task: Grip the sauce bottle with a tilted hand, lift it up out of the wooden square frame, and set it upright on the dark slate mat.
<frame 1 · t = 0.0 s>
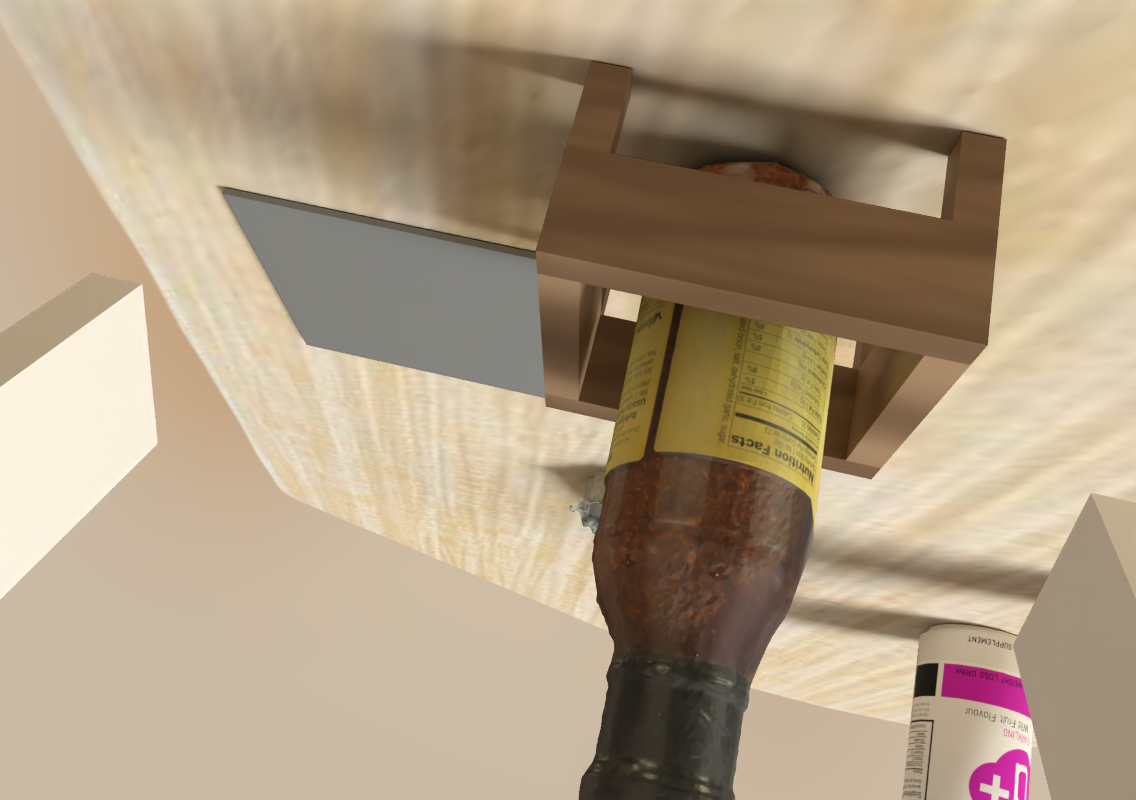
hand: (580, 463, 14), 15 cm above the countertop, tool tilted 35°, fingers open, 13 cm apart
slate mat: (415, 304, 47), on the countertop
sauce bottle: (763, 201, 34), on the countertop
wooden square frame: (762, 207, 34), on the countertop
supplement can: (978, 634, 76), on the countertop
egg carton: (675, 488, 63), on the countertop
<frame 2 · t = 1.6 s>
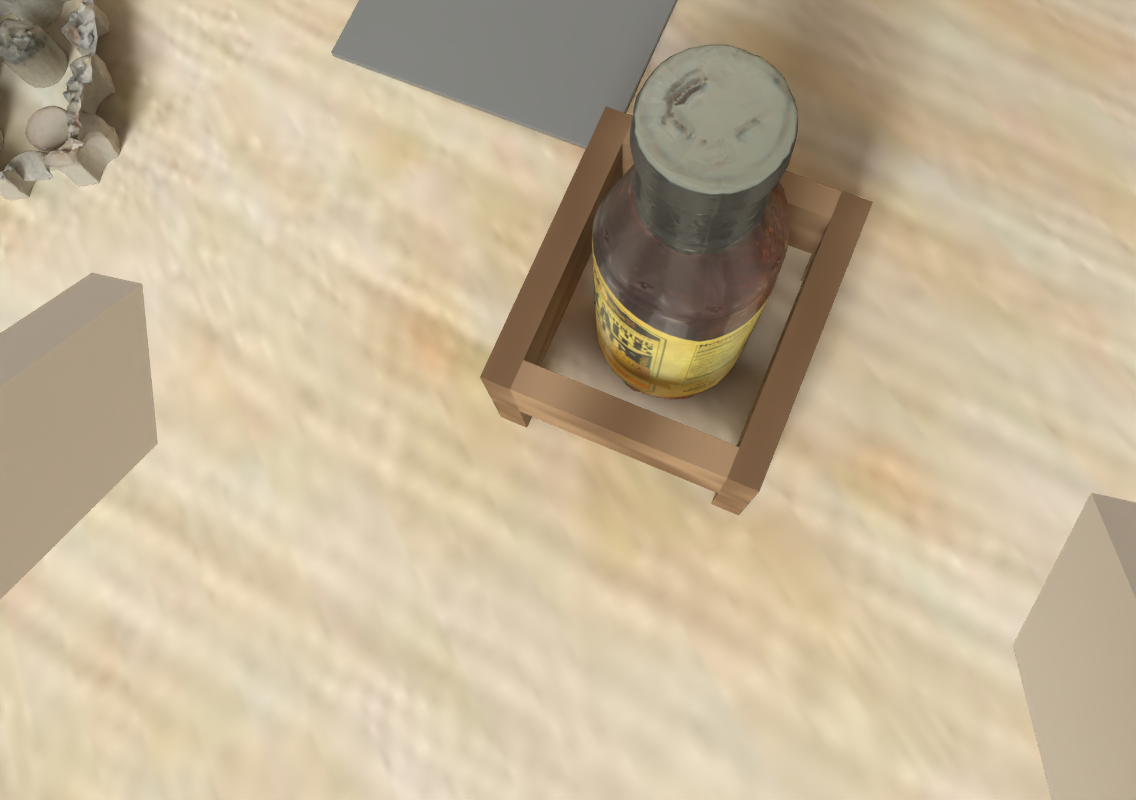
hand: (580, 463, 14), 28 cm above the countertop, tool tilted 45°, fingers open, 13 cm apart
sauce bottle: (670, 342, 44), on the countertop
wooden square frame: (670, 340, 44), on the countertop
egg carton: (48, 102, 49), on the countertop
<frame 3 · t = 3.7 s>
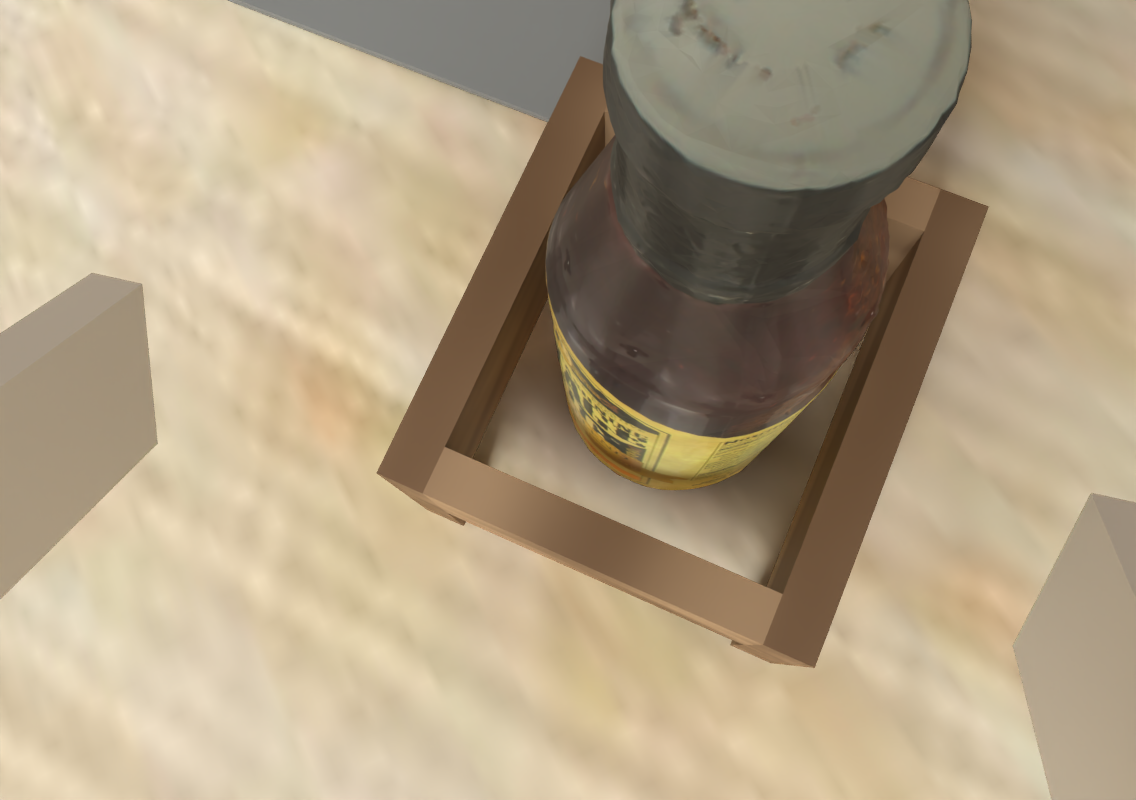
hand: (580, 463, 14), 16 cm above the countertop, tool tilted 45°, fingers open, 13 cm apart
sauce bottle: (672, 403, 31), on the countertop
wooden square frame: (673, 401, 30), on the countertop
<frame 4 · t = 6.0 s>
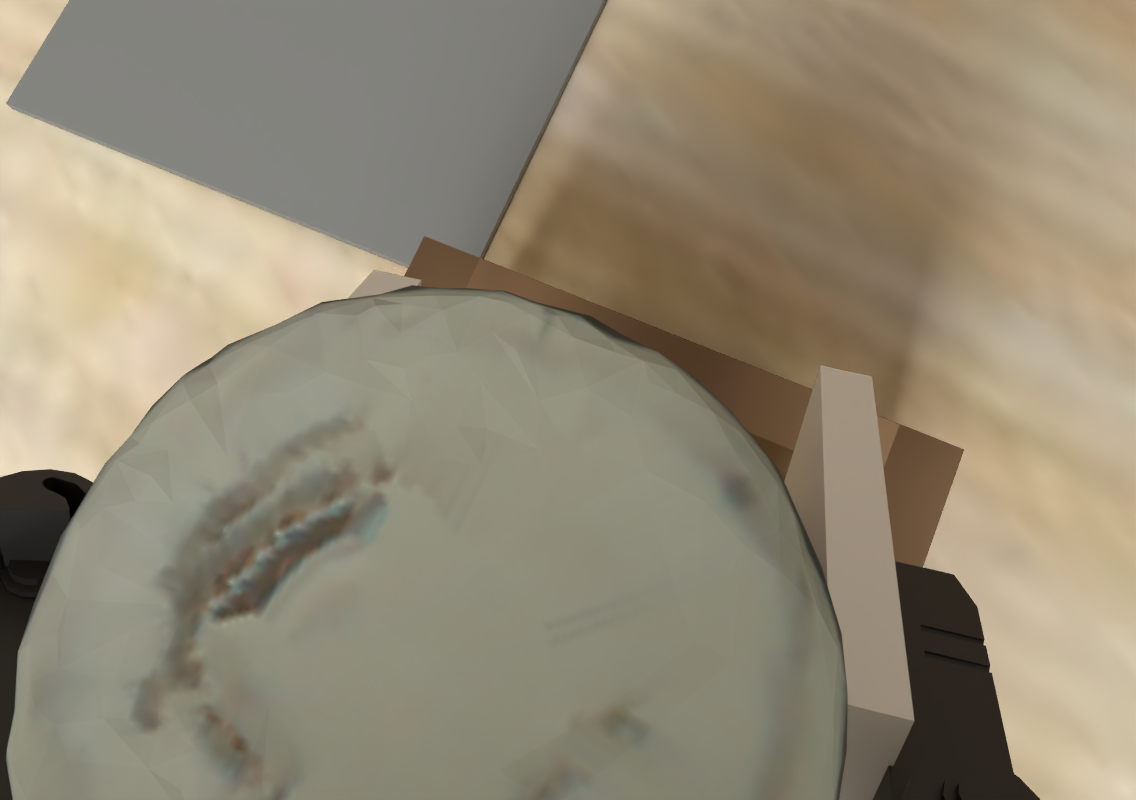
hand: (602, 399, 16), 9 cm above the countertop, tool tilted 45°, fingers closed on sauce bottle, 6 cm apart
sauce bottle: (572, 641, 24), on the countertop, touching gripper
wooden square frame: (571, 640, 24), on the countertop
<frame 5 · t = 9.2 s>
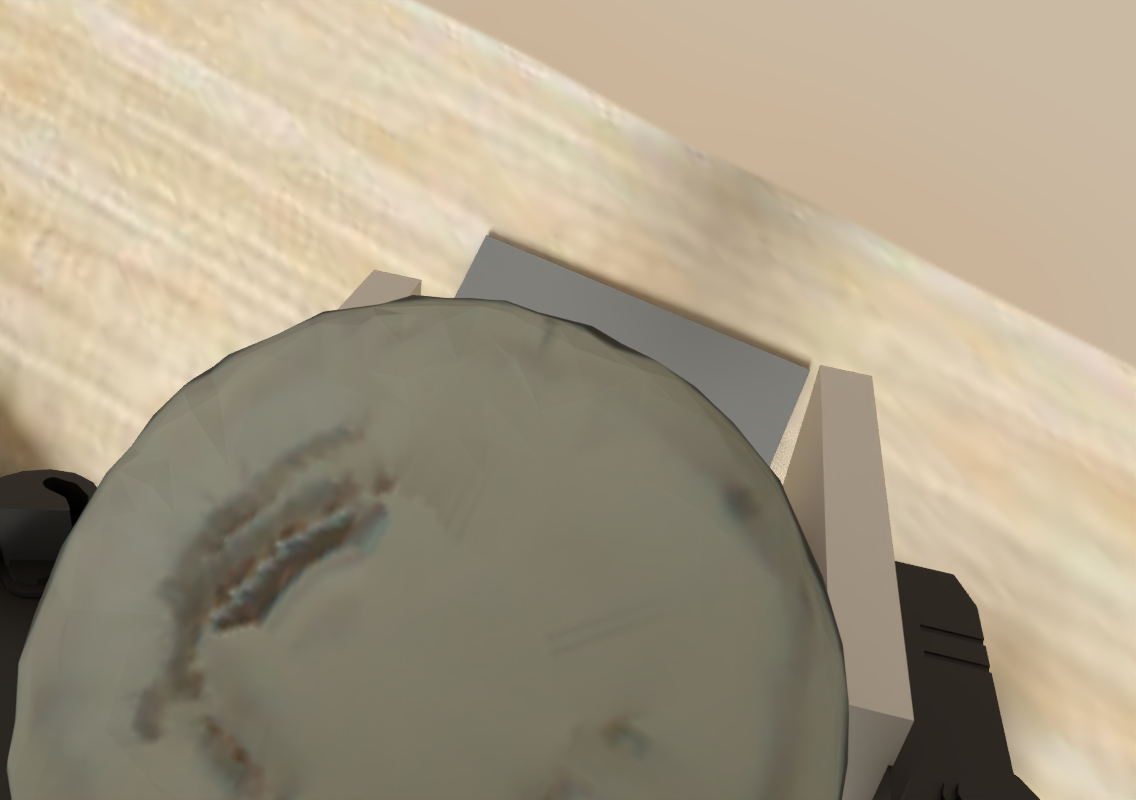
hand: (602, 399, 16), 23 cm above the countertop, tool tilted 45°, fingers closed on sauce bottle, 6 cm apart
slate mat: (571, 460, 39), on the countertop
sauce bottle: (572, 643, 24), point 14 cm above the countertop, touching gripper
when the fingers open (11 cm above the countertop, at t = 12.5 s): sauce bottle drops 1 cm, resting on slate mat.
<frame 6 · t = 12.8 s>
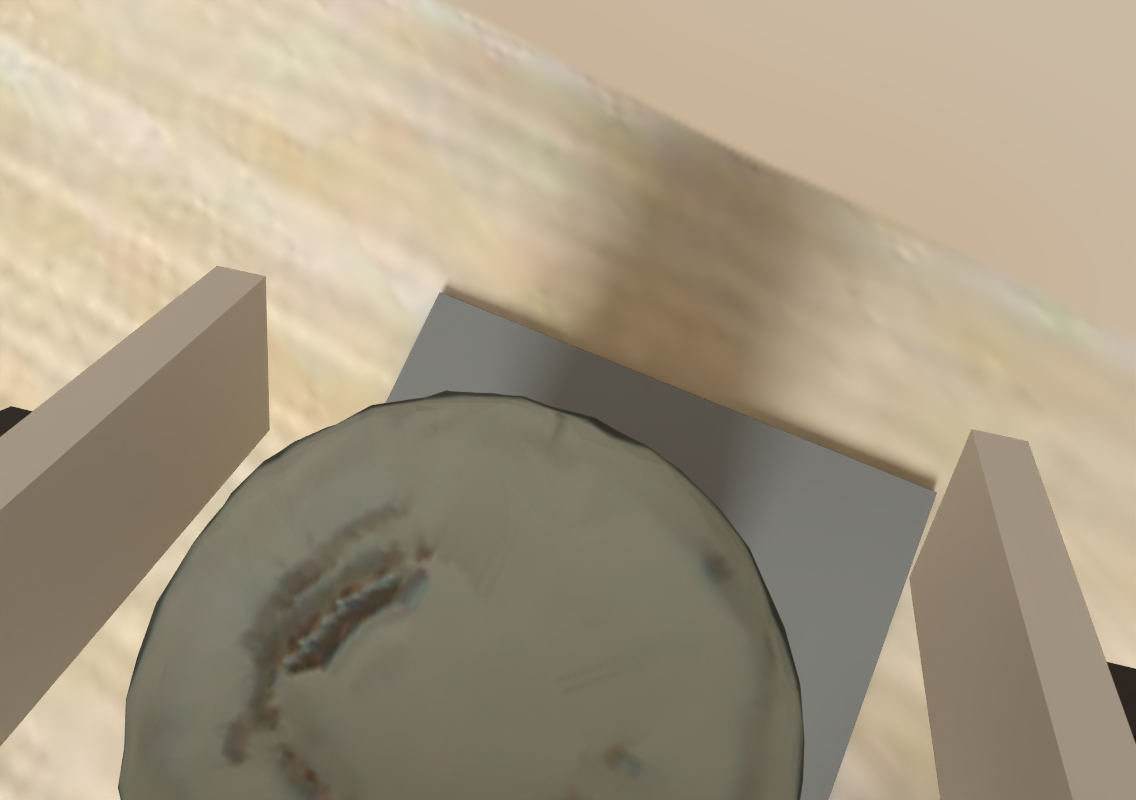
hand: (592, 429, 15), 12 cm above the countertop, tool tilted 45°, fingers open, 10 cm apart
slate mat: (574, 640, 25), on the countertop
sauce bottle: (571, 646, 25), resting on slate mat
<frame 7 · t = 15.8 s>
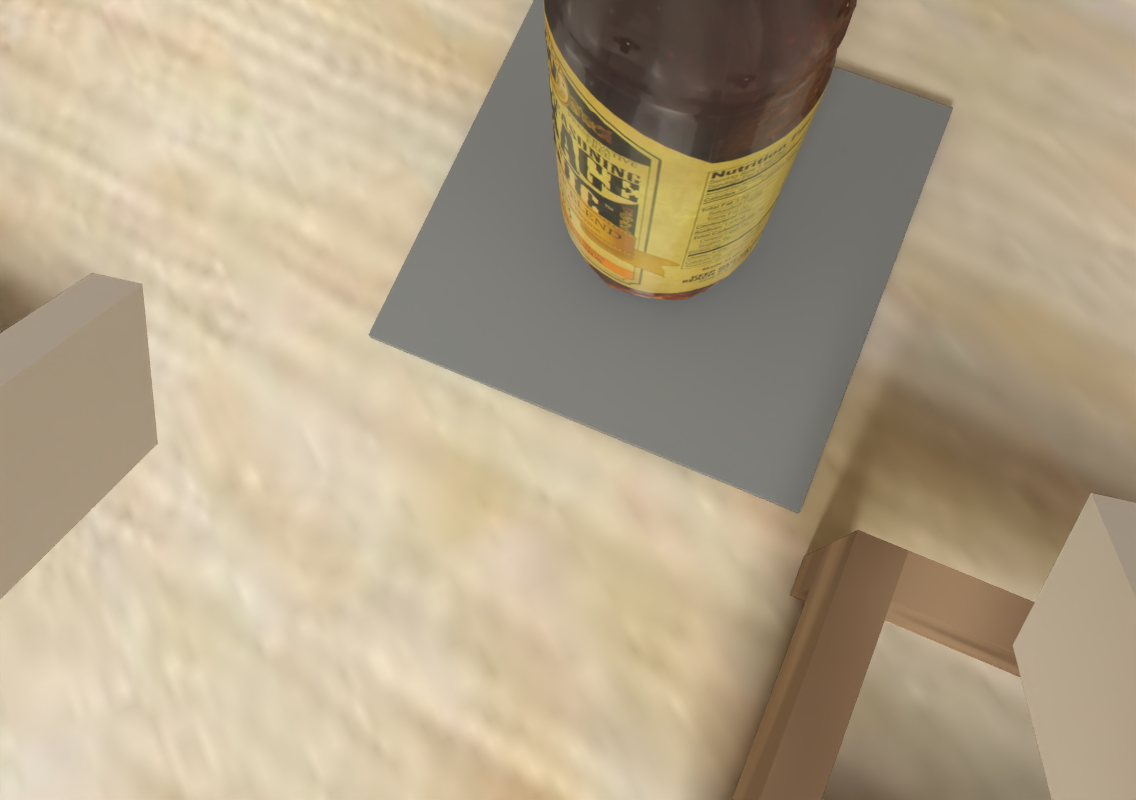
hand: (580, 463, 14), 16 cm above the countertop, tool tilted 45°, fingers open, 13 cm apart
slate mat: (665, 223, 32), on the countertop
sauce bottle: (663, 226, 32), resting on slate mat
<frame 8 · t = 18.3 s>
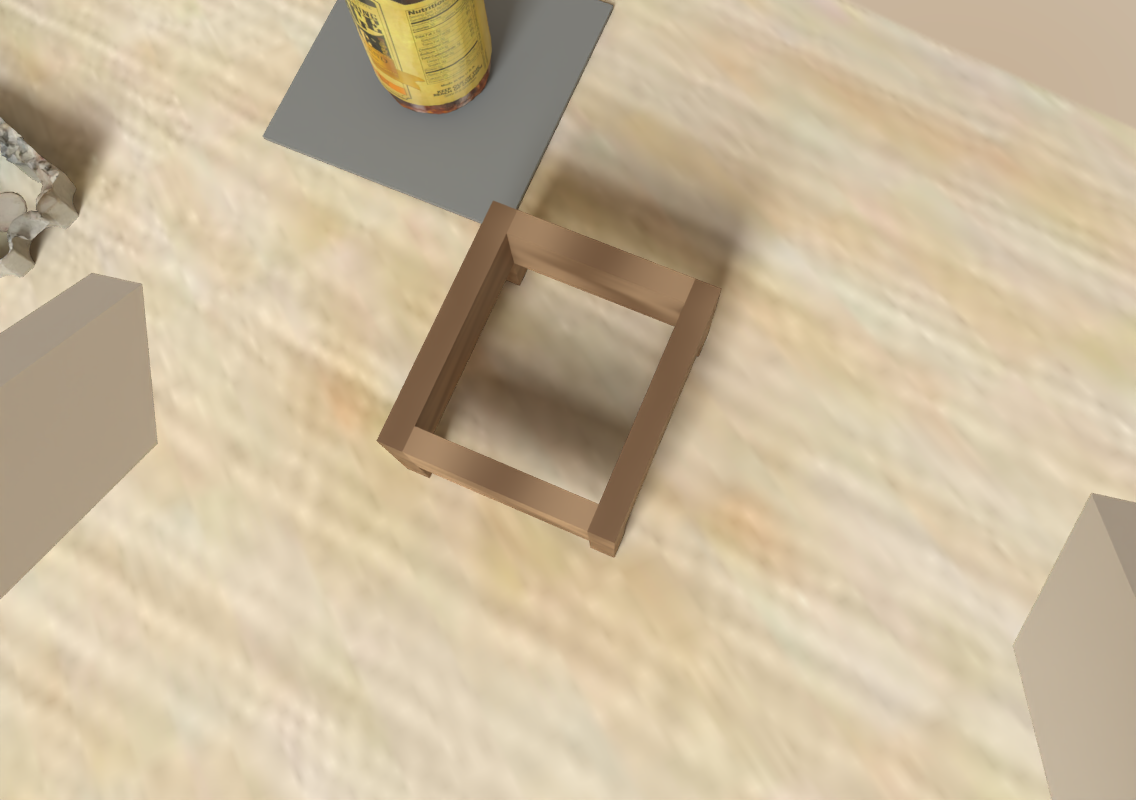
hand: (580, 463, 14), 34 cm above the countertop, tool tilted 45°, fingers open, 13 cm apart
slate mat: (440, 73, 54), on the countertop
sauce bottle: (438, 74, 54), resting on slate mat
wooden square frame: (558, 400, 49), on the countertop
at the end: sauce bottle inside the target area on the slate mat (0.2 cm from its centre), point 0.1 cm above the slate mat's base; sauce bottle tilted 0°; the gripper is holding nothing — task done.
